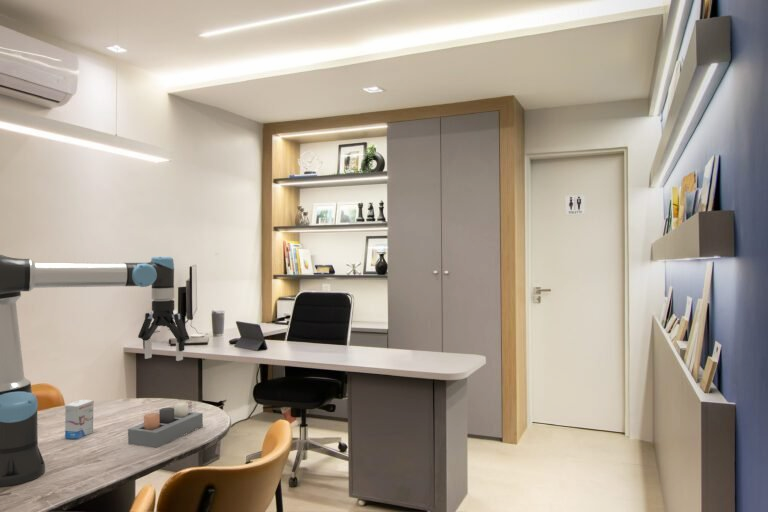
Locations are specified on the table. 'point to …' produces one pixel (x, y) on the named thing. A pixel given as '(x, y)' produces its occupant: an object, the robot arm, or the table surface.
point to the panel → (164, 431)
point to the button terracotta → (151, 421)
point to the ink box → (79, 419)
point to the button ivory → (181, 410)
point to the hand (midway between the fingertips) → (163, 359)
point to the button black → (166, 415)
